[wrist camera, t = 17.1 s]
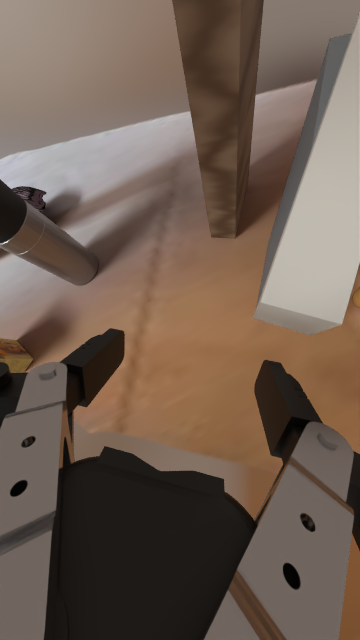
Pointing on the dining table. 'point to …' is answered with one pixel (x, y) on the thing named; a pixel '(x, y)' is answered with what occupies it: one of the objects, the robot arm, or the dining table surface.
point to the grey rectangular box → (306, 142)
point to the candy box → (14, 355)
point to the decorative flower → (32, 196)
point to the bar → (322, 218)
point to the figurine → (357, 298)
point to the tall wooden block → (221, 97)
